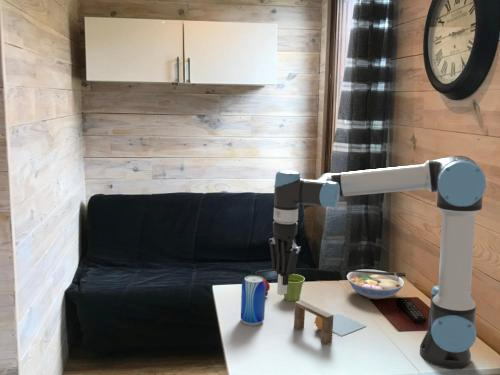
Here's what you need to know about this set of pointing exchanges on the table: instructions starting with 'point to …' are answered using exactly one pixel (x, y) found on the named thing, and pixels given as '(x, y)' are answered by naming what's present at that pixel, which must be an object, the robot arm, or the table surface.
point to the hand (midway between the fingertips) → (282, 293)
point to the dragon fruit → (266, 287)
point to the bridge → (326, 317)
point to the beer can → (253, 300)
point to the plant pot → (294, 287)
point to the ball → (318, 322)
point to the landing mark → (345, 325)
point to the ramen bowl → (375, 283)
